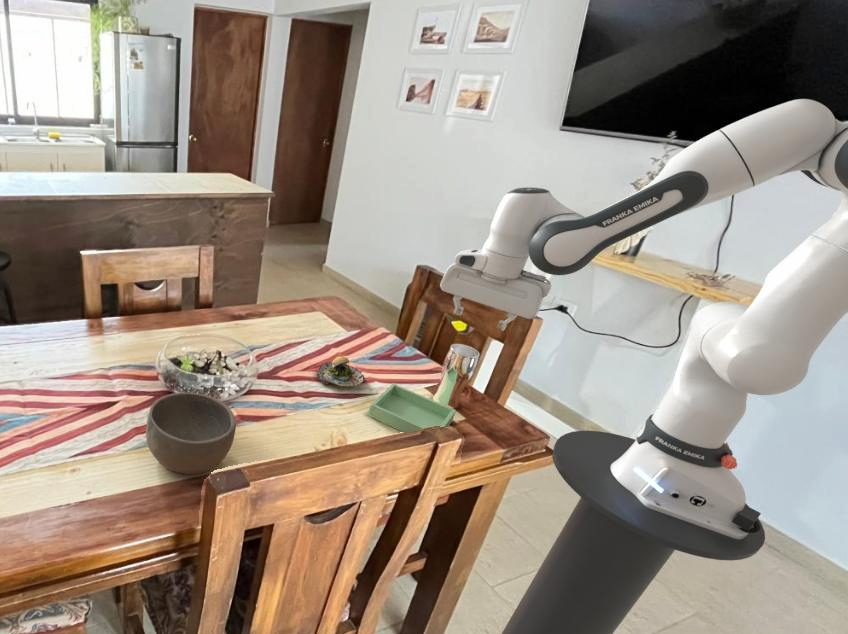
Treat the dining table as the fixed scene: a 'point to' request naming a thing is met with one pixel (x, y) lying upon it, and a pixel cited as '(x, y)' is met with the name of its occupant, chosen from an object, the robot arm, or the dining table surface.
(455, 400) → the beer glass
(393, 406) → the serving tray
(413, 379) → the dining table surface
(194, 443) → the bowl
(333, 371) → the burger
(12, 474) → the dining table surface
